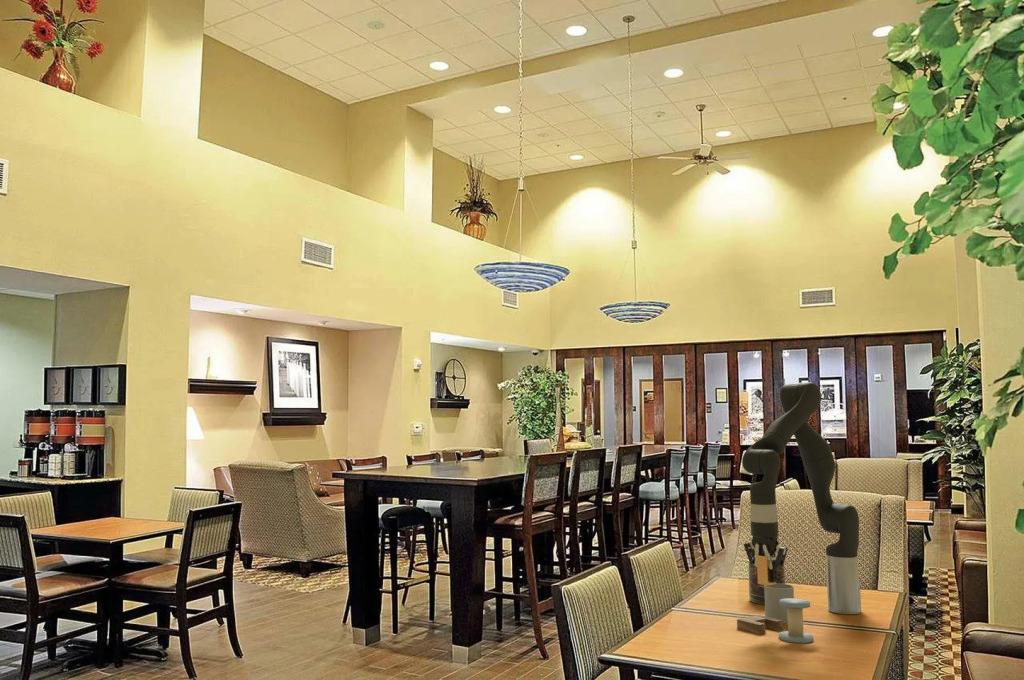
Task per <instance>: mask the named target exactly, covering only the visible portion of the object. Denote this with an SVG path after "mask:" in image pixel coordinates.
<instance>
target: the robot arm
mask: <svg viewBox="0 0 1024 680" xmlns="http://www.w3.org/2000/svg"><path fill="white" fill-rule="evenodd" d="M779 399H780V403H781V407H782V409H783V411H784V414H782V415H780V416H779V417H778V418H776V419H775V420H774V421H773V422H772V423H770V425H769V426H768V428H767V429H766V430H765V432H764V434H763V435H762V436H761V437H760V438H759V439H758V440H756V441H755V442H754V443H753V444H752V445H750V446H749V447H748V448H746V450H745V451H744V453H743V455H742V460H741V463H742V464H741V465H742V467H743V469H744V471H746V472H747V473H749V474H751V475H752V474H753V475H754V474H755V475H763V477H762V480H761V481H758V482H757V481H756V482H753V483H751V484H750V488H749V494H750V495H749V498H750V506H749V508H750V509H749V518H750V521H749V522H750V536H751V537H752V539H751V541H750V542H745V543H743V546H744V550H745V553H746V556H747V559H748V561H749V562H750V564H754V565H755V566H756V576H757V555H764V556H768V557H767V560H768V562H769V568H770V569H769V578H770V583H774V582H776V580H777V568H780V567H783V564H784V565H785V561H786V558H787V554H788V551H789V550H788V548H787V547H785V546H781V545H780V543H779V539H778V538H779V520H778V518H779V517H778V507H777V495H776V488H777V482H778V478H779V474H780V469H781V464H782V462H781V458H780V454H782V453H783V451H785V449H786V446H787V445H788V444H789V443H790V440H791V438H792V437H793V436H794V438H795V441H796V445H797V447H798V451H799V453H800V457H801V461H802V463H803V467H804V469H805V473H806V474H807V478H808V481H809V484H810V488H811V492H812V495H813V500H814V504H815V509H816V514H817V518H818V522H819V524H820V526H821V528H822V529H823V530H824V531H825V532H827V533H831V534H839V538H838V540H837V541H836V542H834V543H830V544H827V546H825V555H826V556H825V559H826V562H825V563H826V582H827V583H826V585H827V608H828V611H829V612H831V613H835V614H839V615H840V614H841V615H857V614H860V612H862V599H861V598H862V595H861V580H859V563H858V561H859V560H858V559H859V557H858V550H859V546H860V545H859V544H860V536H859V535H860V517H859V512H858V510H857V509H856V507H855V506H853V505H850V504H844V503H843V504H842V503H835V502H834V501H833V498H832V495H831V484H832V482H833V478H834V476H835V473H836V461H835V458H834V455H833V452H832V449H831V446H830V445H829V443H828V442H827V441H826V440H825V438H824V437H823V436H822V435H821V434H820V433H818V432H817V430H815V428H813V427H812V425H811V424H810V423H809V422H808V419H809V418H810V417H811V416H812V415H813V414H814V413H815V412H816V411H817V410H818V408H819V407H820V405H821V401H822V392H821V390H820V388H819V386H818V385H817V384H816V383H814V382H811V381H807V382H805V381H802V382H794V383H793V382H792V383H786V384H783V385H782V386H781V387H780V391H779ZM773 555H774V556H773ZM770 556H773V557H772V558H771V557H770ZM772 560H773V562H772ZM749 562H748V563H749ZM757 578H758V576H757Z"/></svg>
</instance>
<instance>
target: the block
mask: <svg viewBox="0 0 1024 680" xmlns="http://www.w3.org/2000/svg"><path fill="white" fill-rule="evenodd" d="M773 556H774V555H773ZM773 556H770V557H771V558H772V557H773ZM767 557H768V556H764V555H757V576H758V584H762V585H767V586H769V585H773V584H776V582H774V583H770V578H769V569H770V568H769V562H768V560H767ZM772 562H773V560H772Z"/></svg>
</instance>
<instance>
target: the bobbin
mask: <svg viewBox="0 0 1024 680" xmlns="http://www.w3.org/2000/svg"><path fill="white" fill-rule="evenodd" d="M779 604H780V605H781V606H784V607H787V617H788V623H787V630H786V631H785V630H784V631H781V632H778V639H779V640H780V641H783V642H787V643H792V644H811V643H813V642H814V635H813V634H811V633H807V632H804V614H803V613H804V611H803V609H808V608H811V601H809V600H806V599H801V598H795V597H794V598H786V599H780V600H779Z"/></svg>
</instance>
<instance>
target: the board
mask: <svg viewBox="0 0 1024 680" xmlns="http://www.w3.org/2000/svg"><path fill="white" fill-rule="evenodd" d="M736 625H737V626H736V628H737V629H739V630H741V631H742V630H743V631H746V632H750V633H755V634H758V635H761V634H762V635H763V634H767V633H766V629H769V628H770V630H773V629H774V631H781V629H782V630H784V626H783V625H784V623H783V622H782V620H779V619H775V618H771V617H766V616H765V615H761V614H758V615H753V616H748V617H743V618H737V619H736Z"/></svg>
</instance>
